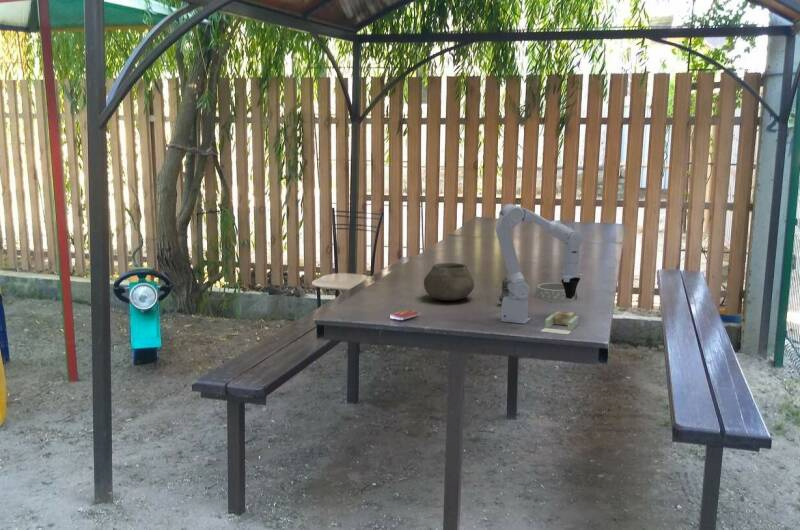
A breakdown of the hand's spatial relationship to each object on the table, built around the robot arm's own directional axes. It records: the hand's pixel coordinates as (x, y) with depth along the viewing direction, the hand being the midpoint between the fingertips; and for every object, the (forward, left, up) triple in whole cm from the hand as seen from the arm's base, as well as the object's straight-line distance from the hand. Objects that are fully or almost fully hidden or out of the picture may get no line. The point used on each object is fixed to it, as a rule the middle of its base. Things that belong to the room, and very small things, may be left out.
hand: (570, 297), depth 294 cm
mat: (0, -20, -8) cm, 22 cm away
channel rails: (0, -12, -8) cm, 14 cm away
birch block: (0, -9, -8) cm, 12 cm away
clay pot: (-54, +11, -9) cm, 56 cm away
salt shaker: (-29, +11, -9) cm, 32 cm away
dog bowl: (-14, +34, -9) cm, 38 cm away
